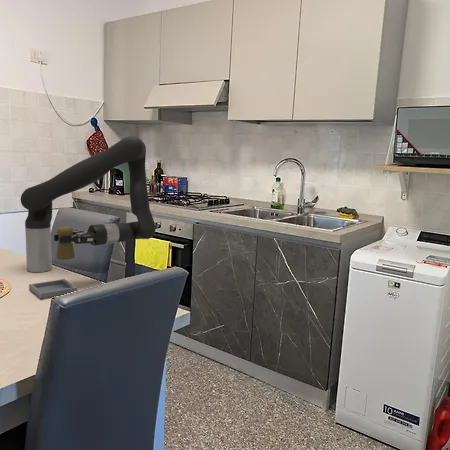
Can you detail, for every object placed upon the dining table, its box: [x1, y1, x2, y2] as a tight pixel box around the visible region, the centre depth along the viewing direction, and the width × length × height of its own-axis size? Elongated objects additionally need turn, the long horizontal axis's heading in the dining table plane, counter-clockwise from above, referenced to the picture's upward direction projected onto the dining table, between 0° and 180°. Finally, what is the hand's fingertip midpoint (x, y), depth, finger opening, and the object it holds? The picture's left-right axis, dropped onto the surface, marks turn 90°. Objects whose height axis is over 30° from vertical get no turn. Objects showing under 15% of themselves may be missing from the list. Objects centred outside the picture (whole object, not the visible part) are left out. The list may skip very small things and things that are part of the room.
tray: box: [28, 278, 78, 300], centre depth 150 cm, size 12×12×2 cm
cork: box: [56, 225, 76, 261], centre depth 153 cm, size 6×6×11 cm
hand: (57, 239), depth 151 cm, fingers closed on cork, 4 cm apart
